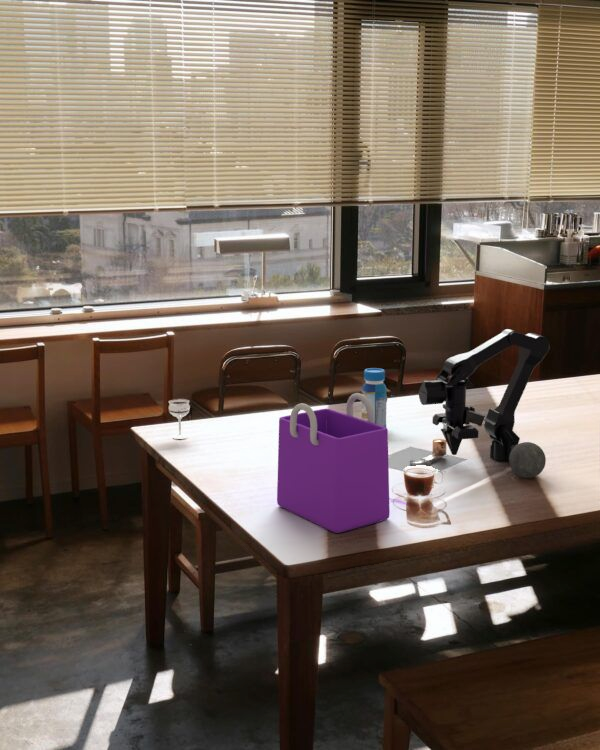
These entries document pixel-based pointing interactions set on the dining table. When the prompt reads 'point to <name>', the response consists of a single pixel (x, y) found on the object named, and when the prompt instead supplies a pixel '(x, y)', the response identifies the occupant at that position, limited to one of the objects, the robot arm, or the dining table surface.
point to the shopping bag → (333, 467)
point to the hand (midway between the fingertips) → (454, 454)
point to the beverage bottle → (375, 395)
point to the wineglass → (179, 409)
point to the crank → (438, 453)
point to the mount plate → (404, 456)
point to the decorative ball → (527, 460)
